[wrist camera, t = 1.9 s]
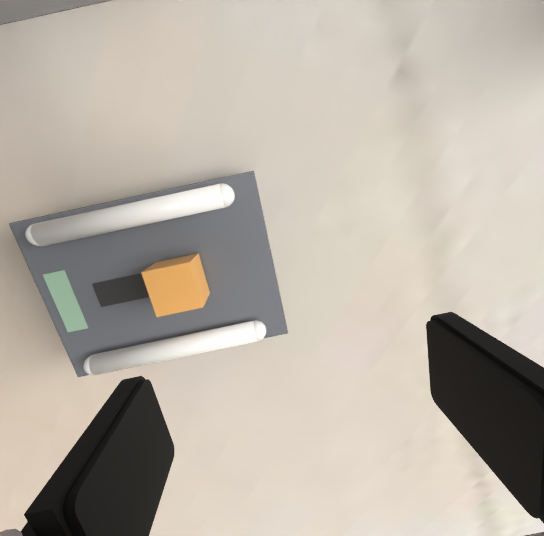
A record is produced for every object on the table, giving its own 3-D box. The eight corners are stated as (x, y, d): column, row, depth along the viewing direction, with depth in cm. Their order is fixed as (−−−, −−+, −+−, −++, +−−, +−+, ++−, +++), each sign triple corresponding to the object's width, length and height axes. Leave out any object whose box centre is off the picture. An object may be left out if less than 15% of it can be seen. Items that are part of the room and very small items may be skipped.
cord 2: (263, 315, 28) (264, 324, 27) (267, 332, 29) (268, 342, 27) (88, 352, 29) (75, 363, 27) (95, 369, 29) (83, 381, 27)
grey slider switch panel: (254, 174, 31) (253, 170, 25) (283, 309, 35) (288, 333, 29) (55, 217, 31) (7, 223, 25) (107, 346, 35) (77, 377, 29)
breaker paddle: (198, 253, 26) (189, 262, 23) (210, 293, 27) (203, 307, 24) (156, 262, 26) (141, 272, 23) (169, 301, 27) (156, 317, 24)
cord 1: (232, 181, 25) (230, 180, 23) (237, 204, 26) (236, 205, 24) (33, 224, 25) (14, 227, 23) (42, 246, 26) (25, 250, 24)
